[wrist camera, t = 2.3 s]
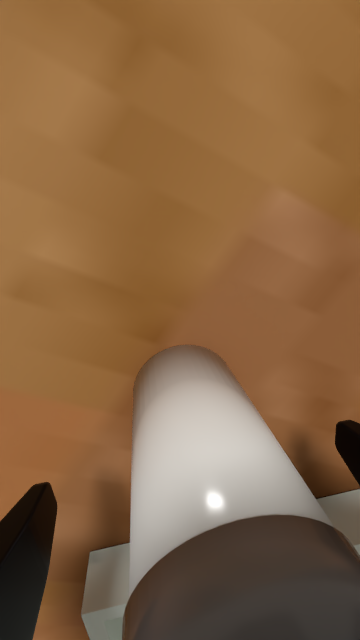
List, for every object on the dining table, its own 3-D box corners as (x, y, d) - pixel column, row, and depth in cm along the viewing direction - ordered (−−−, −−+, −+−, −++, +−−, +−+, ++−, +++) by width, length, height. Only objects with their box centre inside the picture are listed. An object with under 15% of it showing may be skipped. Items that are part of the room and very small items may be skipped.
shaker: (140, 444, 13) (146, 855, 4) (121, 352, 11) (78, 707, 3) (237, 424, 13) (412, 764, 5) (232, 334, 12) (468, 596, 3)
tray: (139, 707, 19) (140, 773, 17) (89, 551, 14) (80, 615, 12) (351, 645, 21) (378, 698, 19) (372, 486, 16) (413, 530, 14)
